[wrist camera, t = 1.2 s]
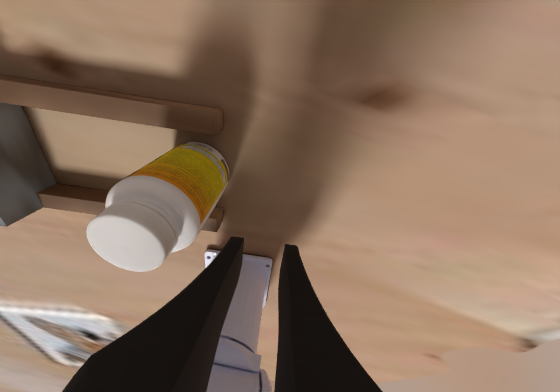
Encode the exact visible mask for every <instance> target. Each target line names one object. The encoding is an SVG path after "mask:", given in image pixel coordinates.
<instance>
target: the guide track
mask: <svg viewBox="0 0 560 392" xmlns="http://www.w3.org/2000/svg"><path fill="white" fill-rule="evenodd" d="M22 106H27V107H34V108H40V109H47V110H53V111H60V112H66V113H73V114H79V115H86V116H93V117H99V118H106V119H112V120H119V121H125V122H132V123H138V124H145V125H151V126H158V127H164V128H171V129H177V130H184V131H190V132H197V133H203V134H210V135H216V134H217V133H219V132H220V131H221V130H223V109H218V108H211V107H205V106H199V105H192V104H186V103H179V102H173V101H167V100H160V99H154V98H147V97H141V96H134V95H128V94H122V93H115V92H109V91H102V90H96V89H90V88H83V87H77V86H70V85H64V84H58V83H51V82H45V81H38V80H32V79H26V78H19V77H13V76H6V75H0V226H6V227H7V226H9V225H10V224H12V223H14V222H16V221H18V220H20V219H22V218H24V217H26V216H28V215H30V214H31V213H33V212H35V211H37V210H39V209H41V208H43V207H45V208H52V209H59V210H66V211H73V212H80V213H87V214H94V215H99V214H100V213H102V212H103V211H104V210H105V209H106V207H105V204H106V198H107V195H108V193H109V191H105V190H98V189H91V188H84V187H77V186H70V185H63V184H57V183H56V180H55V178H54V176H53V174H52V172H51V169H50V167H49V165H48V163H47V161H46V158H45V156H44V154H43V152H42V150H41V147H40V145H39V143H38V141H37V139H36V136H35V134H34V132H33V130H32V128H31V125H30V123H29V121H28V119H27V117H26V114H25V112H24V110H23V108H22ZM222 221H223V208H221V207H214V209H213V211H212V212H211V214H210V216H209V217H208V219H207V221H206V222H205V224H204V226H203V227H202V229H201V230H206V231H213V232H217V231H218V229H219V227H220V225H221V223H222Z"/></svg>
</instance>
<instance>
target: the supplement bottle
mask: <svg viewBox="0 0 560 392" xmlns="http://www.w3.org/2000/svg"><path fill="white" fill-rule="evenodd" d="M228 182H229V168H228V165H227V163H226V161H225V159H224V158H223V156H222V155H221V154H220V153H219V152H218V151H217V150H216V149H214V148H213V147H211V146H209V145H207V144H204V143H201V142H186V143H183V144H180V145H178V146H177V147H175V148H173V149H172V150H170V151H168V152H167V153H165V154H164V155H162V156H160V157H158V158H157V159H155V160H154V161H152V162H151V163H149V164H147V165H146V166H144V167H142V168H141V169H139V170H137V171H136V172H134V173H132V174H131V175H129V176H127V177H126V178H124V179H122V180H121V181H120V182H118V183H117V184H115V185H114V186H113V187H112V188H111V190H110V191H109V193H108V195H107V198H106V204H105V207H106V209H105V210H104V211H103V212H102V213H100V214H99V215H98V216H96V217H95V218H93V219H92V220H91V221H90V223H89V224H88V227H87V232H86V234H87V238H88V241H89V243H90V245H91V246H92V248H93V249H94V250H95V251H96V252H97V253H98V254H99V255H100V256H101V257H102V258H103V259H105V260H106V261H108V262H110V263H111V264H113V265H115V266H118V267H120V268H123V269H126V270H130V271H138V272H144V271H150V270H153V269H156V268H157V267H159V266H160V265H161V264H162V263H163V262H164V260H165V259H166V258H167V256H168V255H169V254H170V253H171V252H176V251H179V250H182V249H184V248H186V247H187V246H189V245H190V244H191V243H192V242H193V241H194V240H195V238H196V237H197V236H198V234H199V232H200V231H201V229H202V227H203V226H204V224H205V222H206V221H207V219H208V217H209V216H210V214H211V212H212V211H213V209H214V207H215V206H216V204H217V202H218V201H219V199H220V197H221V196H222V194H223V192H224V191H225V189H226V187H227V185H228Z"/></svg>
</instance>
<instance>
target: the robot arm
mask: <svg viewBox="0 0 560 392" xmlns="http://www.w3.org/2000/svg"><path fill="white" fill-rule="evenodd" d="M243 244H244V238H240V237H231V238H230V239H229V241H228V242H227V244H226V245H225V246H224V248H223V249H222V250H221V251H217V250H210V249H208V250H206V251H205V269H204V270H203V271H202V272H201V273H200V274H199V275H198V276H197V277H196V278H195V279H194V280H193V281H192V282H191V283H190V284H189V285H188V286H187V287H186V288H185V289H184V290H182V291H181V292H180V293H179V294H178V295H177V296H176V297H174V298H173V299H172V300H171V301H169V302H168V303H167V304H166V305H165V306H163V307H162V308H161V309H159V310H158V311H157V312H155V313H154V314H153V315H151V316H150V317H149V318H147V319H146V320H144V321H143V322H142V323H140V324H139V325H137V326H136V327H135V328H133V329H132V330H130V331H129V332H127V333H126V334H124V335H123V336H121V337H120V338H118V339H116V340H115V341H113V342H112V343H110V344H109V345H107V346H105V347H104V348H102V349H101V350H99V351H98V352H96V353H94V354H93V355H91V356H90V357H89V358H88V360H87V361H86V362H85V363H84V364H83V366H82V367H81V368H80V369H79V370H78V371H77V373H76V374H75V375H74V376H73V378H72V379H71V380H70V382H69V383H68V384H67V386H66V387H65V388H64V390H63V391H62V392H272V387H271V383H270V380H269V378H268V375H267V373H266V371H265V370H264V369H260V362H261V355H258V354H256V352H257V345H258V337H259V330H260V322H261V315H262V308H263V307H265V303H266V297H267V291H268V285H269V279H270V274H271V268H272V259H271V258H267V257H260V256H253V255H246V254H243ZM209 256H210V257H209ZM267 264H268V265H267ZM278 309H279V336H278V353H277V366H276V378H275V391H274V392H382V391H381V389H380V388H379V387H378V386H377V384H376V383H375V382H374V381H373V380H372V378H371V377H370V376H369V375H368V373H367V372H366V371H365V369H364V368H363V367H362V366H361V364H360V363H359V362H358V360H357V359H356V358H355V356H354V355H353V354H352V352H351V351H350V349H349V348H348V347H347V345H346V344H345V342H344V341H343V339H342V338H341V336H340V335H339V333H338V332H337V330H336V329H335V327H334V326H333V324H332V322H331V321H330V319H329V318H328V316H327V314H326V312H325V311H324V309H323V307H322V305H321V303H320V301H319V300H318V298H317V296H316V294H315V291H314V289H313V287H312V285H311V283H310V281H309V278H308V276H307V273H306V271H305V268H304V266H303V263H302V260H301V257H300V254H299V250H298V247H297V246H296V245H289V244H285V248H284V253H283V258H282V263H281V268H280V276H279V287H278Z"/></svg>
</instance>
